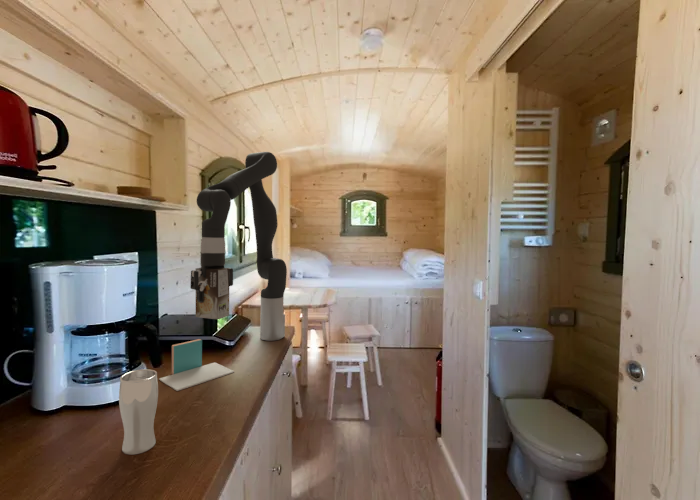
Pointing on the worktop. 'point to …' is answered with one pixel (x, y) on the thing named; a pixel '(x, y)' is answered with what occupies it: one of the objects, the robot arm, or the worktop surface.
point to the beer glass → (138, 409)
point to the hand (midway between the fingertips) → (212, 300)
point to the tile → (186, 356)
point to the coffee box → (214, 294)
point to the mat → (195, 376)
